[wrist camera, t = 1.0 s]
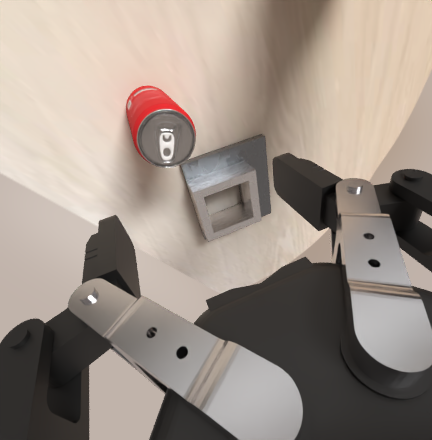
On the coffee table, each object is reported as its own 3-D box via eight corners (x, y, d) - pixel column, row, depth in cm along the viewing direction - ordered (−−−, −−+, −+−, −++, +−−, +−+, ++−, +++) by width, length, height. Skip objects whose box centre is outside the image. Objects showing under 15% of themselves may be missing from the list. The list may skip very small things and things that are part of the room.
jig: (261, 134, 36) (278, 144, 32) (268, 210, 45) (281, 224, 41) (179, 162, 34) (187, 176, 31) (203, 235, 43) (211, 252, 39)
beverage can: (171, 86, 29) (201, 107, 19) (170, 132, 31) (196, 170, 22) (123, 82, 27) (131, 103, 18) (127, 131, 30) (135, 171, 21)
